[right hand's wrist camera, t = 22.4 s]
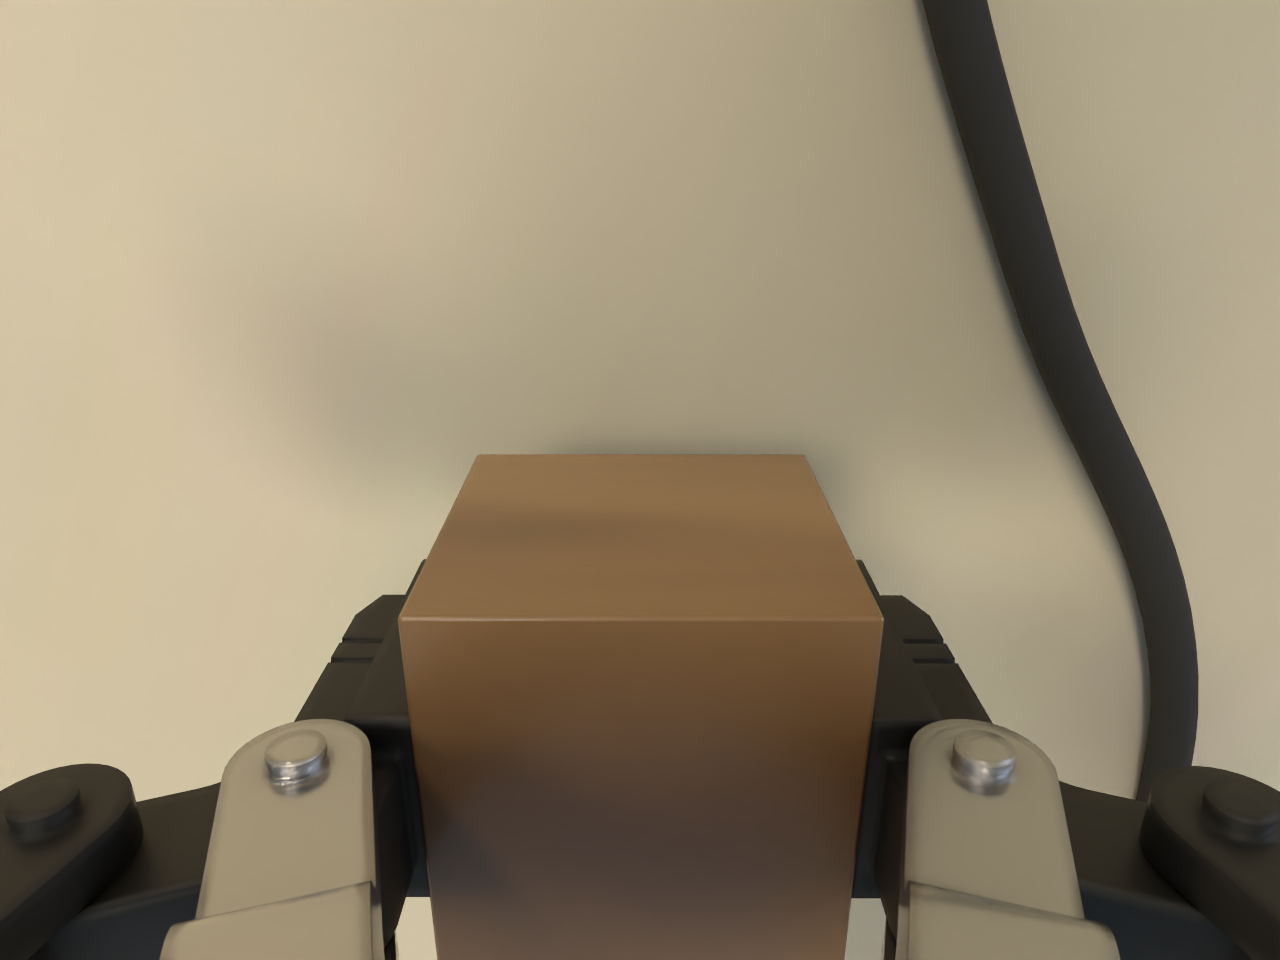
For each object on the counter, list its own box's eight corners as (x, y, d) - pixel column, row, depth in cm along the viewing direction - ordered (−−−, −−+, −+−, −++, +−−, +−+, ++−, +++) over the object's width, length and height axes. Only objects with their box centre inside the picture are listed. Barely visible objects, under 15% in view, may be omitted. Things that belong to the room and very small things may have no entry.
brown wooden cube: (785, 726, 13) (844, 974, 10) (497, 726, 13) (438, 973, 10) (805, 453, 12) (886, 617, 8) (477, 452, 12) (396, 617, 8)
